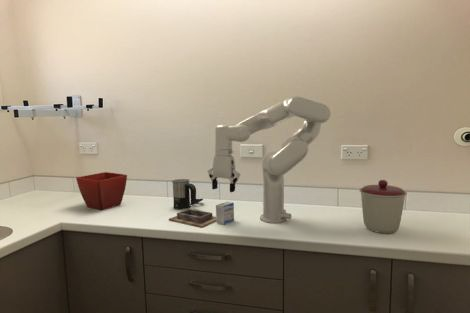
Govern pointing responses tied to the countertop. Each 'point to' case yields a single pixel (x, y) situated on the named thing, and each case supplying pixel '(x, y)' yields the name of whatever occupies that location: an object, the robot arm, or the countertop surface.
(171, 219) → the holder
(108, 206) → the plant pot
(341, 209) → the countertop surface
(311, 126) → the robot arm
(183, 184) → the milk frother
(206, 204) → the countertop surface
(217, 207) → the medicine box
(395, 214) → the canister
